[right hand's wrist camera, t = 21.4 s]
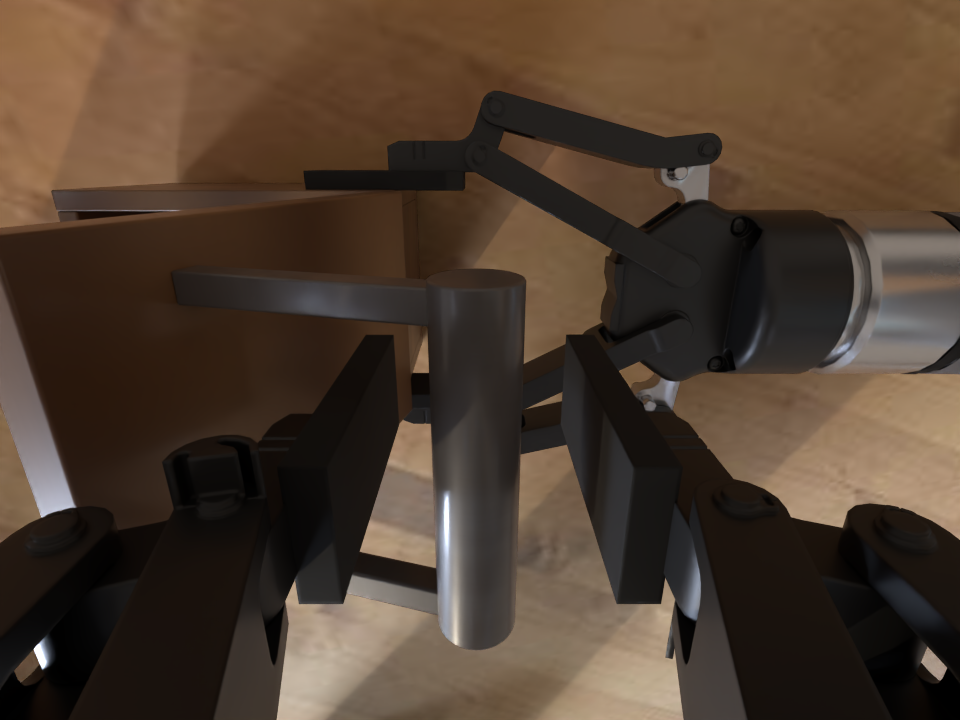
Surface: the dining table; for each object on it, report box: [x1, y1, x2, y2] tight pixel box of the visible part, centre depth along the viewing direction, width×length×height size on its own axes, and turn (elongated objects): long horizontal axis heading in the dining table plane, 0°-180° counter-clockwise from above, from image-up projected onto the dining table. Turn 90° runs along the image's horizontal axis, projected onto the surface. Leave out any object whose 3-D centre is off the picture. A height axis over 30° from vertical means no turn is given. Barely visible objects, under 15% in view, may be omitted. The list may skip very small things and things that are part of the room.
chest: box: [51, 183, 422, 376], centre depth 26 cm, size 14×9×9 cm
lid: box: [0, 191, 526, 650], centre depth 14 cm, size 14×9×8 cm
